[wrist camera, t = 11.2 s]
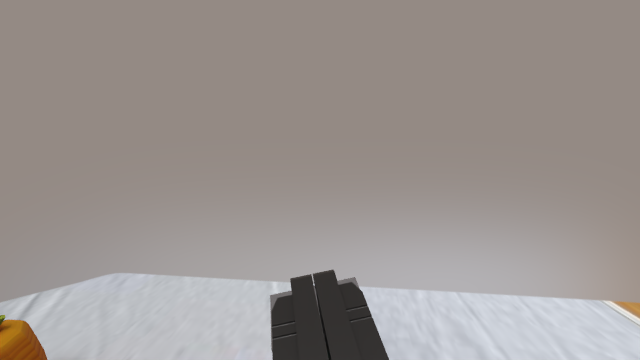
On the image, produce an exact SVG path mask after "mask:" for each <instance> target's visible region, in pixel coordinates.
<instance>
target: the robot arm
mask: <svg viewBox="0 0 640 360" xmlns="http://www.w3.org/2000/svg"><path fill="white" fill-rule="evenodd" d="M313 278H314V284H315V290H316V295H315V290H314V285H313V281H312V276H311V274H310V275H306V276H301V277H296V278H291V289H292V295H288V296H283V297H279V298H277V300H276V302H275V304H274V306H273V309H272V311H271V315H272V340H273V341H272V350H273V360H389V358H388V356H387V353H386V351H385V348H384V346H383V343H382V341H381V338H380V336H379V333H378V330H377V328H376V325H375V323H374V320H373V318H372V316H371V313H370V310H369V308H368V306H367V303H366V300H365V298H364V295H363V293H362V291H361V290H360V289H359V288H358V287H357V286H356V285H355V284H354V283H352V282H349V283H344V284H339V285H338V282H337V279H336V275H335V273H334V270H329V271H324V272H320V273H315V274H313ZM316 296H317V300H316ZM317 302H318V305H317ZM318 308H319V310H318ZM319 314H320V315H319ZM320 319H321V320H320ZM321 324H322V325H321Z"/></svg>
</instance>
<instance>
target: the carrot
mask: <svg viewBox="0 0 640 360" xmlns="http://www.w3.org/2000/svg"><path fill="white" fill-rule="evenodd" d="M4 319H5V315H1V316H0V360H47V357H46V355H45V352H44V349H43V347H42V346H41V344H40V342H39V340H38V339H37V337H36V335H35V334H34V332H33V331H32V329H31V327H30V326H29V324H28V323H27V322H25V321H22V320H5V321H3V320H4Z"/></svg>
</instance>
